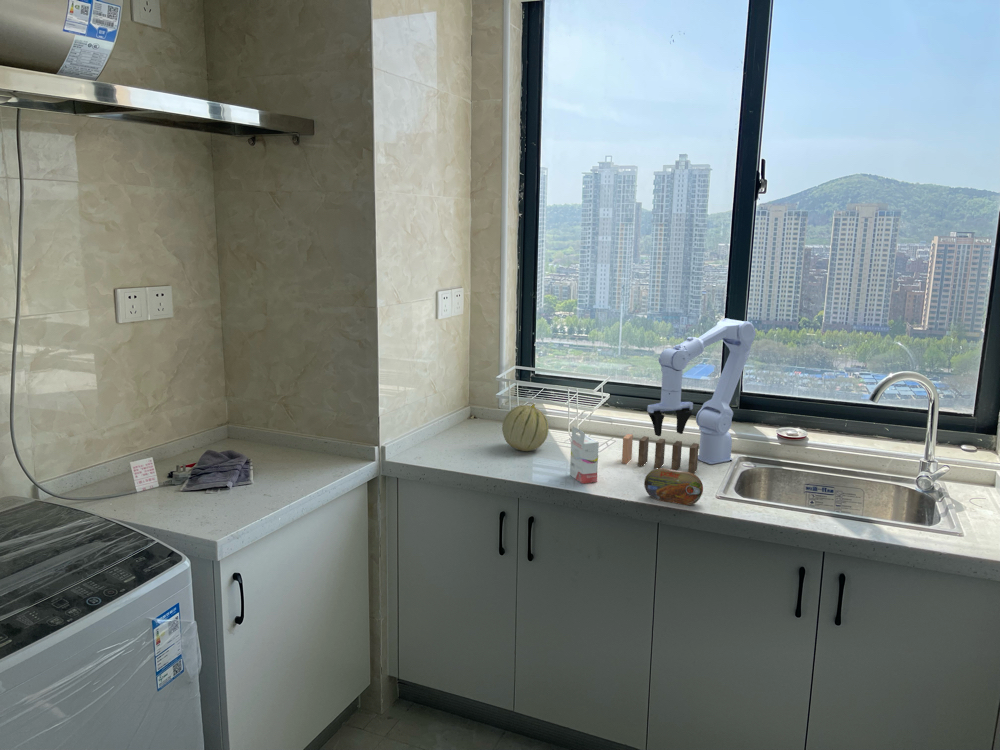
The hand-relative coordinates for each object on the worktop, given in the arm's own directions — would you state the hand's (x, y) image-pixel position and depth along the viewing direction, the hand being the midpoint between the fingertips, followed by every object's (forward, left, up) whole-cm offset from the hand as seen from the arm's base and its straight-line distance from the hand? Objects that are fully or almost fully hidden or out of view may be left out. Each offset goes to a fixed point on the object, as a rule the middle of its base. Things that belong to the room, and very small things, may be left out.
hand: (668, 434), depth 218 cm
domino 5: (-4, +6, -10) cm, 13 cm away
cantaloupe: (+29, -34, -11) cm, 46 cm away
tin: (+17, +22, -11) cm, 30 cm away
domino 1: (+7, -10, -10) cm, 16 cm away
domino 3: (+1, -2, -10) cm, 11 cm away
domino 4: (-1, +2, -10) cm, 11 cm away
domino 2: (+4, -6, -10) cm, 13 cm away
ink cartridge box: (+28, -3, -11) cm, 30 cm away
